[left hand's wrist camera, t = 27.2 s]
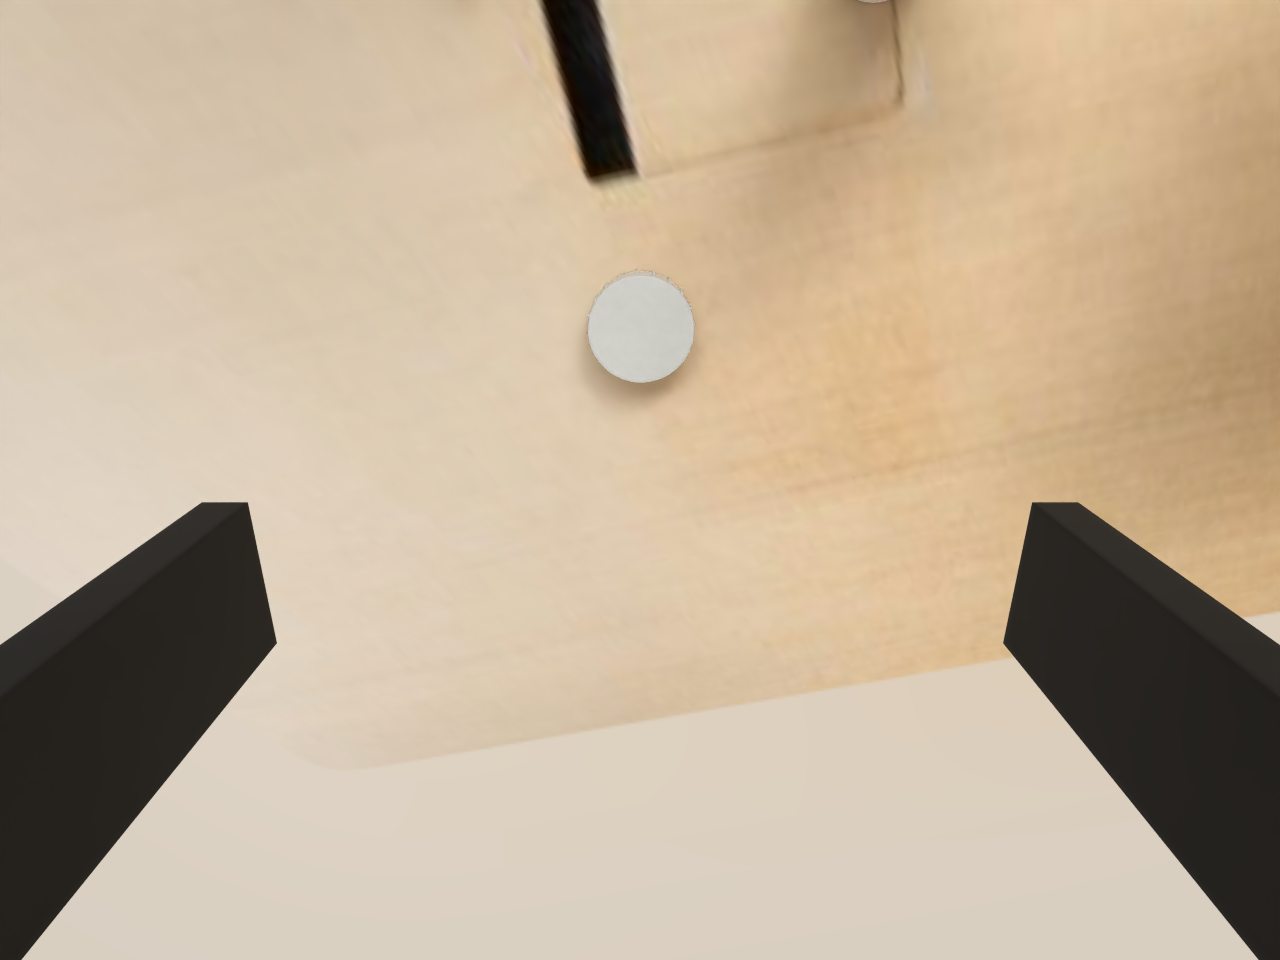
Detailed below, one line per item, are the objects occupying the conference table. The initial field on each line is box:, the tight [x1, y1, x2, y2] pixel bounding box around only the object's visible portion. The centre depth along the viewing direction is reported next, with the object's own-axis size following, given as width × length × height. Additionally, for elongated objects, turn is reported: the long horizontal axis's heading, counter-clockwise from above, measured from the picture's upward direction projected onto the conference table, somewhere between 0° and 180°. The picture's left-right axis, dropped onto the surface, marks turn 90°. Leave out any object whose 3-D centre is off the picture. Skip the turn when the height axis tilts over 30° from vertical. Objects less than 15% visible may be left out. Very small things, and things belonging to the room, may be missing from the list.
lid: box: [587, 270, 695, 383], centre depth 38 cm, size 5×5×2 cm
